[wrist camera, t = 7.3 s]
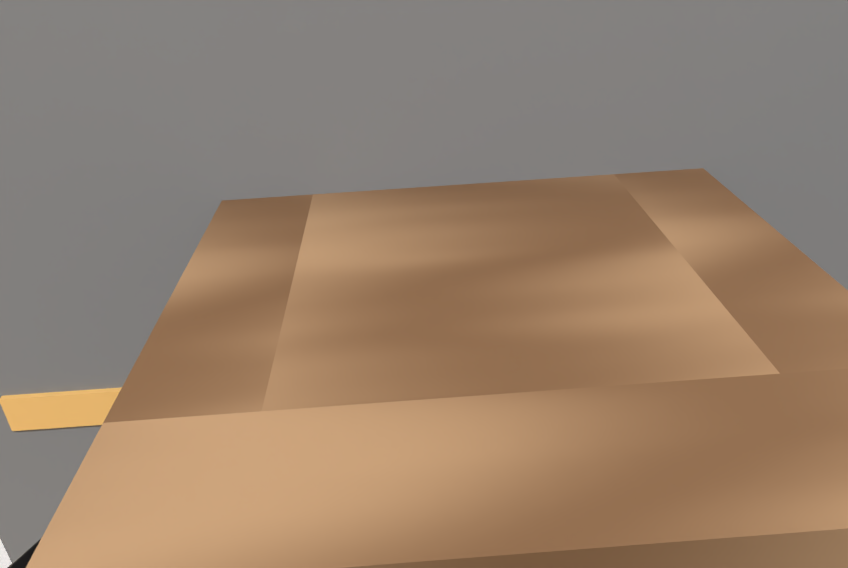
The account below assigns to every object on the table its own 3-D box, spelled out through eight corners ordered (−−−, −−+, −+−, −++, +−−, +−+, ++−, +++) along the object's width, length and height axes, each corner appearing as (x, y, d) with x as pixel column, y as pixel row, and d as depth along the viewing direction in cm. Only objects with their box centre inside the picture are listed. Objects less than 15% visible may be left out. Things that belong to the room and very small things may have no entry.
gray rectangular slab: (1041, -92, 10) (1154, -90, 8) (835, 537, 15) (880, 602, 14) (-168, -23, 9) (-269, -8, 8) (87, 594, 15) (56, 666, 14)
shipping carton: (703, 168, 9) (1137, 535, 4) (653, 513, 13) (860, 986, 7) (221, 200, 9) (-5, 623, 4) (290, 541, 12) (218, 1045, 7)
